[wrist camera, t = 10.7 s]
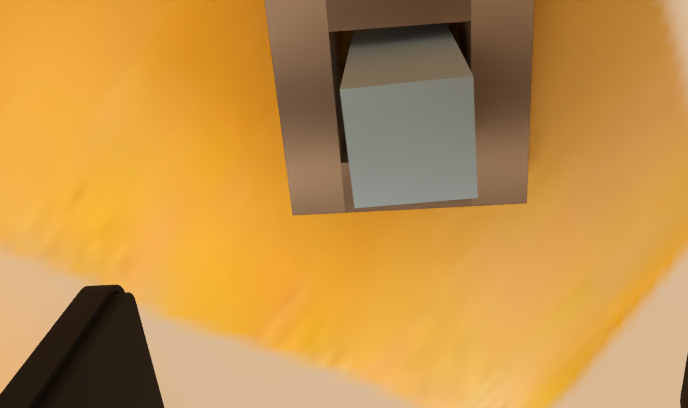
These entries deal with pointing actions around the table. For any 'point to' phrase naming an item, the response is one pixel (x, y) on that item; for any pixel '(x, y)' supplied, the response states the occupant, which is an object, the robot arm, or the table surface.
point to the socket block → (325, 101)
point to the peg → (409, 117)
